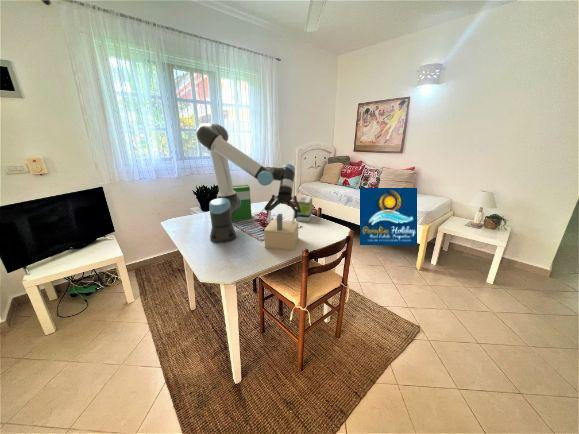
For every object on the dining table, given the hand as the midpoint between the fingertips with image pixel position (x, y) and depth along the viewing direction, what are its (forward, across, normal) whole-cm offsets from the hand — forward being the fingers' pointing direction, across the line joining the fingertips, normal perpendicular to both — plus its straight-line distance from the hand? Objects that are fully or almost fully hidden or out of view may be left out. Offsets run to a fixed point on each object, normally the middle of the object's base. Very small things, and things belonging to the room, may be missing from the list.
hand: (280, 223), depth 120 cm
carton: (+6, +1, -14) cm, 16 cm away
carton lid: (-1, +1, -8) cm, 8 cm away
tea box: (-24, -6, -45) cm, 52 cm away
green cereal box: (-18, +42, -39) cm, 60 cm away
